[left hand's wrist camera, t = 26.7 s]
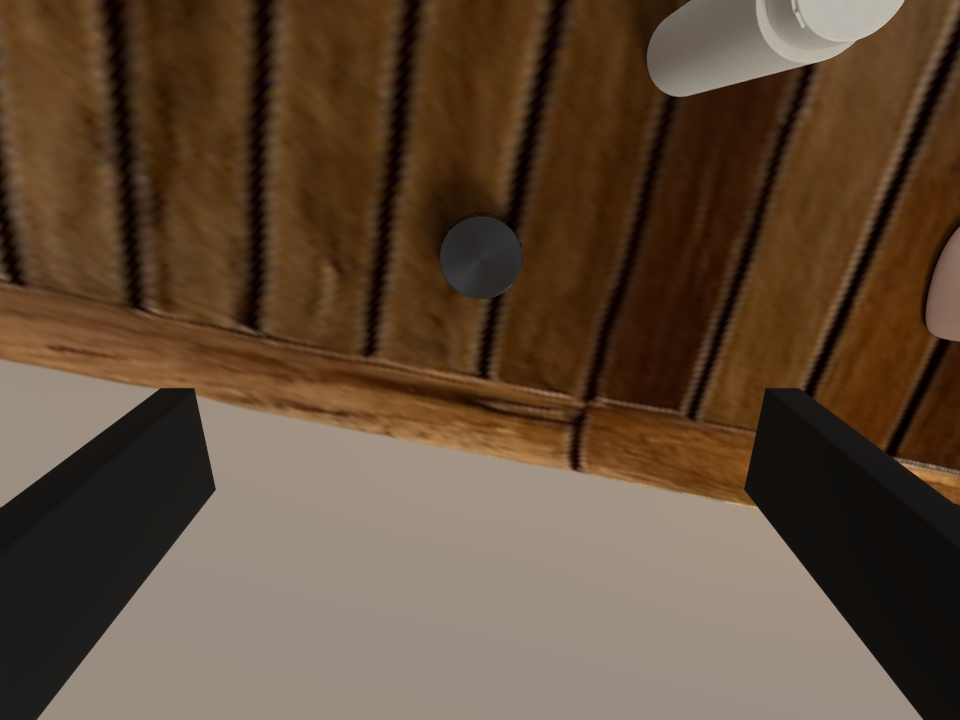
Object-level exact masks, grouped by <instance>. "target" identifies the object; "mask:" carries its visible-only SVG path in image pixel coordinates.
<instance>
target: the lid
mask: <svg viewBox="0 0 960 720" xmlns="http://www.w3.org/2000/svg"><path fill="white" fill-rule="evenodd" d="M441 245H442V247H441V251H440V259H439V260H440V264H441V269H442V272H443V275H444V276H445V278H446V280H447V281H448V283H449V284H450V285H451V286H452V287H453V288H454V289H455V290H456V291H458V292H459V293H461V294H463V295H465V296H468V297H471V298H477V299H485V298H491V297H495V296H497V295H499V294H501V293H503V292H504V291H506V290H507V289H508V288H509V287H510V286H511V285H512V284H513V283H514V282H515V280H516V278H517V277H518V275H519V272H520V269H521V265H522V250H521V248H522V246H521V244H520V243H519V240H518V238H517V236H516V232H515V230H514V229H512V228H511V226H510V225H509V224H508V223H507V222H506V221H505V219H504V218H503V219H501V218H500V217H498V216H495V215H492V214H491V213H476V212H474V214H470V215H467V216H465V217H463V218H462V217H460V219H459V220H458V221H457V222H455V223H454V224H453V225H452V226H451V227H449V229H448V232H447V234H446V236H445V238H444V240H442V243H441Z"/></svg>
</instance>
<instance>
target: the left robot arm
mask: <svg viewBox="0 0 960 720" xmlns="http://www.w3.org/2000/svg"><path fill="white" fill-rule="evenodd" d="M215 490H216V488H215V484H214V479H213V474H212V470H211V465H210V460H209V456H208V451H207V446H206V442H205V437H204V432H203V428H202V423H201V418H200V413H199V409H198V404H197V399H196V394H195V390H194V388H161V389H159V390H158V391H157V392H155V393H154V394H153V395H151V396H150V397H149V398H147V399H146V400H145V401H143V402H142V403H141V404H139V405H138V406H136V407H135V408H134V409H132V410H131V411H130V412H129V413H127V414H126V415H125V416H123V417H122V418H120V419H119V420H118V421H116V422H115V423H114V424H112V425H111V426H110V427H108V428H107V429H106V430H104V431H103V432H102V433H100V434H99V435H98V436H96V437H95V438H94V439H92V440H91V441H90V442H88V443H87V444H86V445H84V446H83V447H82V448H80V449H79V450H78V451H76V452H75V453H74V454H72V455H71V456H70V457H68V458H67V459H66V460H64V461H63V462H61V463H60V464H59V465H57V466H56V467H55V468H53V469H52V470H51V471H49V472H48V473H47V474H45V475H44V476H43V477H41V478H40V479H39V480H37V481H36V482H35V483H33V484H32V485H31V486H29V487H28V488H27V489H25V490H24V491H23V492H21V493H20V494H19V495H17V496H16V497H15V498H13V499H12V500H11V501H9V502H8V503H7V504H5V505H4V506H3V507H1V508H0V720H37V719H38V717H39V716H40V715H41V713H42V712H43V711H44V710H45V708H46V707H47V706H48V704H49V703H50V702H51V701H52V699H53V698H54V697H55V695H56V694H57V693H58V692H59V690H60V689H61V688H62V686H63V685H64V684H65V683H66V681H67V680H68V679H69V678H70V676H71V675H72V674H73V672H74V671H75V670H76V669H77V667H78V666H79V665H80V663H81V662H82V661H83V659H84V658H85V657H86V656H87V654H88V653H89V652H90V650H91V649H92V648H93V647H94V645H95V644H96V643H97V642H98V640H99V639H100V638H101V636H102V635H103V634H104V633H105V631H106V630H107V629H108V627H109V626H110V625H111V624H112V622H113V621H114V620H115V618H116V617H117V616H118V615H119V613H120V612H121V611H122V609H123V608H124V607H125V606H126V604H127V603H128V602H129V600H130V599H131V598H132V597H133V595H134V594H135V593H136V591H137V590H138V589H139V588H140V586H141V585H142V584H143V582H144V581H145V580H146V579H147V577H148V576H149V575H150V573H151V572H152V571H153V570H154V568H155V567H156V566H157V564H158V563H159V562H160V561H161V559H162V558H163V557H164V555H165V554H166V553H167V552H168V550H169V549H170V548H171V546H172V545H173V544H174V543H175V541H176V540H177V539H178V537H179V536H180V535H181V534H182V532H183V531H184V530H185V528H186V527H187V526H188V525H189V523H190V522H191V521H192V519H193V518H194V517H195V516H196V514H197V513H198V512H199V510H200V509H201V508H202V507H203V505H204V504H205V503H206V501H207V500H208V499H209V498H210V496H211V495H212V494H213V492H214V491H215ZM744 490H745V491H746V492H747V494H748V495H749V496H750V498H751V499H752V500H753V501H754V503H755V504H756V505H757V507H758V508H759V509H760V510H761V512H762V513H763V514H764V516H765V517H766V518H767V519H768V521H769V522H770V523H771V525H772V526H773V527H774V528H775V530H776V531H777V532H778V534H779V535H780V536H781V537H782V539H783V540H784V541H785V543H786V544H787V545H788V546H789V548H790V549H791V550H792V552H793V553H794V554H795V555H796V557H797V558H798V559H799V561H800V562H801V563H802V564H803V566H804V567H805V568H806V570H807V571H808V572H809V573H810V575H811V576H812V577H813V578H814V580H815V581H816V582H817V584H818V585H819V586H820V588H821V589H822V590H823V591H824V593H825V594H826V595H827V597H828V598H829V599H830V600H831V602H832V603H833V604H834V605H835V607H836V608H837V609H838V611H839V612H840V613H841V615H842V616H843V617H844V618H845V620H846V621H847V622H848V623H849V625H850V626H851V627H852V629H853V630H854V631H855V633H856V634H857V635H858V636H859V638H860V639H861V640H862V642H863V643H864V644H865V645H866V647H867V648H868V649H869V650H870V652H871V653H872V654H873V656H874V657H875V658H876V660H877V661H878V662H879V663H880V665H881V666H882V667H883V668H884V670H885V671H886V672H887V674H888V675H889V676H890V678H891V679H892V680H893V681H894V683H895V684H896V685H897V686H898V688H899V689H900V690H901V692H902V693H903V694H904V695H905V697H906V698H907V699H908V701H909V702H910V703H911V704H912V706H913V707H914V708H915V710H916V711H917V712H918V713H919V715H920V716H921V717H922V718H923V720H960V505H958V504H953V503H952V502H951V501H949V500H948V499H947V498H945V497H944V496H943V495H941V494H940V493H939V492H937V491H936V490H935V489H933V488H932V487H931V486H929V485H928V484H927V483H925V482H924V481H923V480H921V479H920V478H919V477H917V476H916V475H915V474H913V473H912V472H911V471H909V470H908V469H907V468H905V467H904V466H903V465H901V464H900V463H899V462H897V461H896V460H894V459H893V458H892V457H890V456H889V455H888V454H886V453H885V452H884V451H882V450H881V449H880V448H878V447H877V446H876V445H874V444H873V443H872V442H870V441H869V440H868V439H866V438H865V437H864V436H862V435H861V434H860V433H858V432H857V431H856V430H854V429H853V428H852V427H850V426H849V425H848V424H846V423H845V422H844V421H842V420H841V419H840V418H838V417H837V416H836V415H834V414H833V413H832V412H830V411H829V410H828V409H826V408H825V407H824V406H822V405H821V404H819V403H818V402H817V401H815V400H814V399H813V398H811V397H810V396H809V395H807V394H806V393H805V392H803V391H802V390H801V389H799V388H766V390H765V394H764V399H763V404H762V409H761V413H760V418H759V423H758V427H757V432H756V437H755V441H754V446H753V451H752V455H751V460H750V465H749V470H748V474H747V479H746V484H745V488H744Z"/></svg>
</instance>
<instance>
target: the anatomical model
mask: <svg viewBox="0 0 960 720" xmlns="http://www.w3.org/2000/svg"><path fill="white" fill-rule="evenodd" d="M925 318H926V325H927V328H928V330H929V331H930V332H931V333H932V334H933V335H935V336H937V337H939V338H943V339H947V340H953V341H960V227H959V228H958V229H957V230H956V231H955V232H954V234H953V235H952V237H951V238H950V239H949V241H948V242H947V244H946V246H945V248H944V249H943V251H942V253H941V256H940V258H939V260H938V262H937V265H936V268H935V271H934V274H933V277H932V281H931V285H930V288H929V293H928V298H927V305H926V316H925Z"/></svg>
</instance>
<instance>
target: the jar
mask: <svg viewBox="0 0 960 720" xmlns="http://www.w3.org/2000/svg"><path fill="white" fill-rule="evenodd" d="M903 2H904V0H691V1H689V2H688V3H686V4H685V5H684V6H682V7H681V8H679V9H678V10H677V11H675V12H674V13H672V14H671V15H670V16H668V17H667V18H666V19H664V20H663V21H662V22H661V23H660V25H659V26H658V27H657V28H656V30H655V32H654V33H653V35H652V37H651V40H650V42H649V46H648V50H647V67H648V71H649V74H650V77H651V79H652V80H653V82H654V83H655V85H656V86H657V87H658V88H659V89H660V90H662V91H663V92H665V93H667V94H669V95H672V96H677V97H683V96H689V95H693V94H697V93H701V92H704V91H708V90H712V89H716V88H720V87H724V86H728V85H731V84H735V83H739V82H743V81H747V80H751V79H754V78H758V77H762V76H766V75H770V74H774V73H777V72H781V71H785V70H789V69H793V68H797V67H800V66H804V65H808V64H812V63H816V62H820V61H823V60H826V59H829V58H831V57H834V56H836V55H837V54H839V53H841V52H843V51H844V50H845V49H847V48H848V47H849V46H851V45H852V44H853V43H854V42H855V41H856V40H858V39H861V38H863V37H866V36H868V35H870V34H872V33H873V32H875V31H876V30H878V29H879V28H881V27H882V26H883V25H884V24H885V23H887V22H888V21H889V20H890V19H891V18H892V16H893V15H894V14H895V13H896V12H897V11H898V9H899V8H900V7H901V5H902V4H903Z"/></svg>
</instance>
